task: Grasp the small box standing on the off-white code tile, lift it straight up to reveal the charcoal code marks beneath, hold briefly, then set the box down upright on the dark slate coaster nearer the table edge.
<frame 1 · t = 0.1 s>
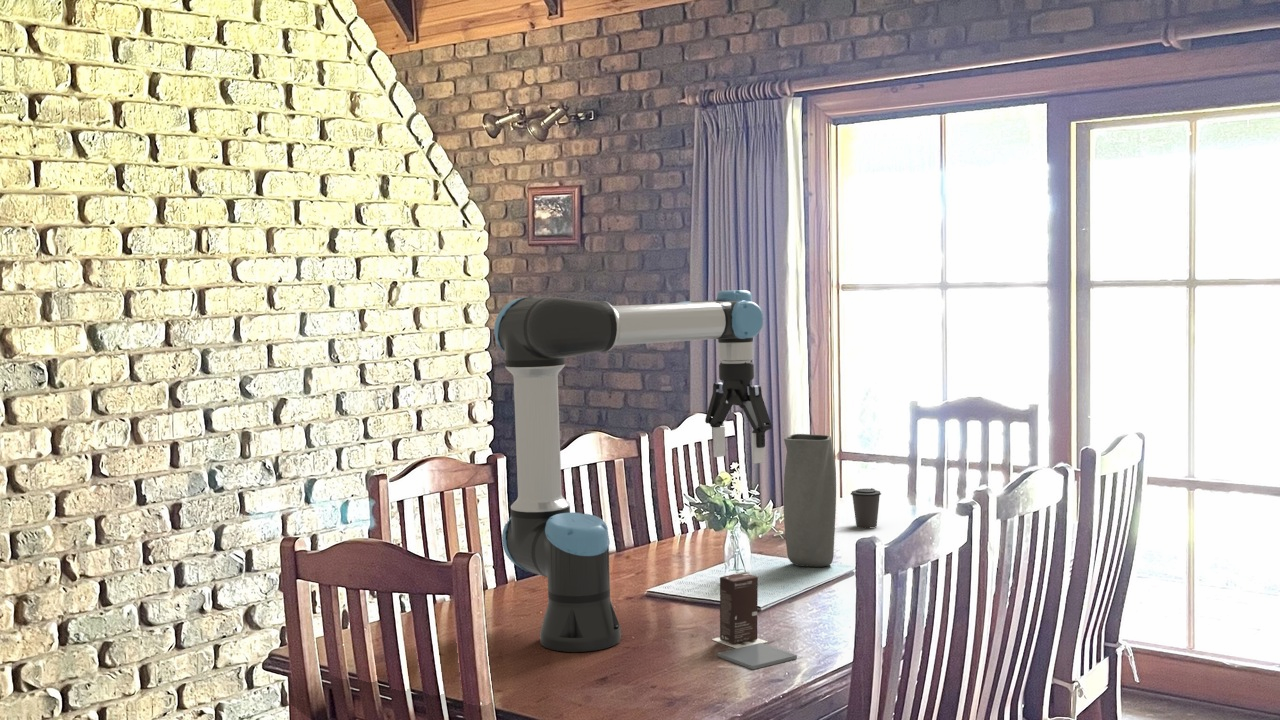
hand: (738, 459, 279), 28 cm above the table, fingers open, 13 cm apart
vase: (810, 565, 301), on the table
box: (739, 641, 239), resting on code tile
code tile: (739, 641, 239), on the table
coffee cup: (866, 527, 343), on the table
coaster: (756, 657, 229), on the table
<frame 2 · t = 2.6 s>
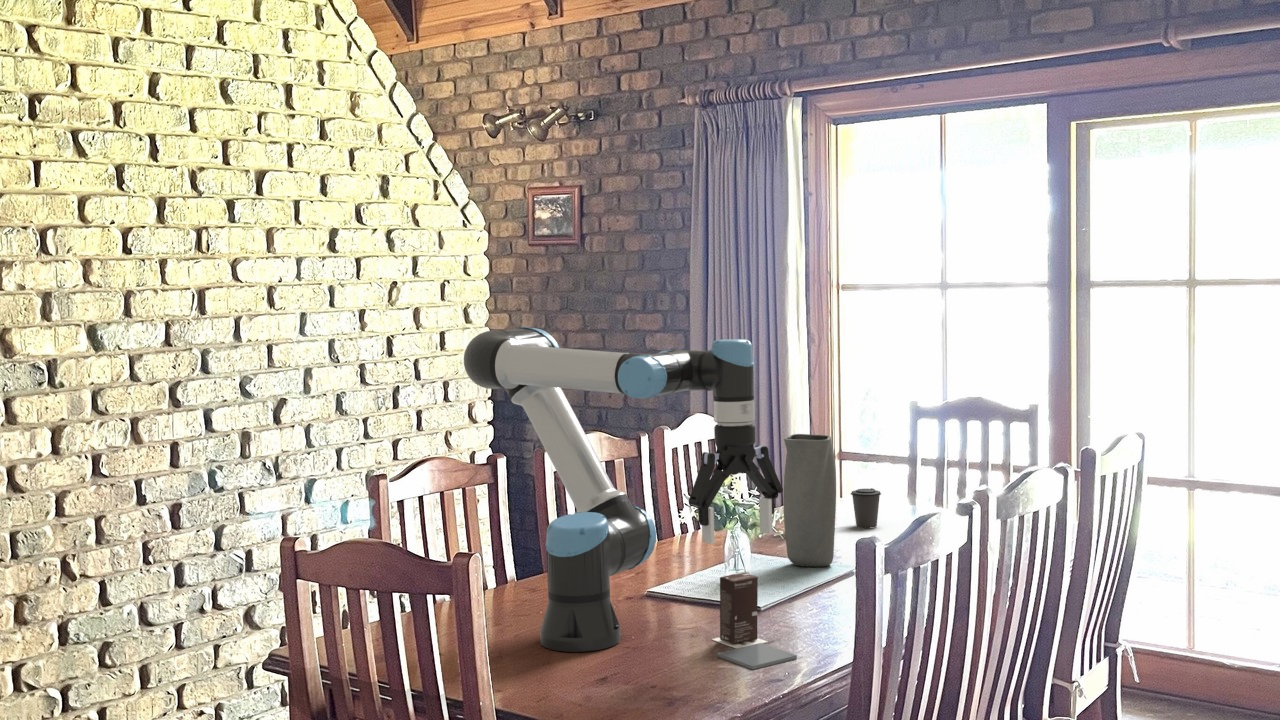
hand: (737, 537, 238), 19 cm above the table, fingers open, 13 cm apart
nothing on the table moved.
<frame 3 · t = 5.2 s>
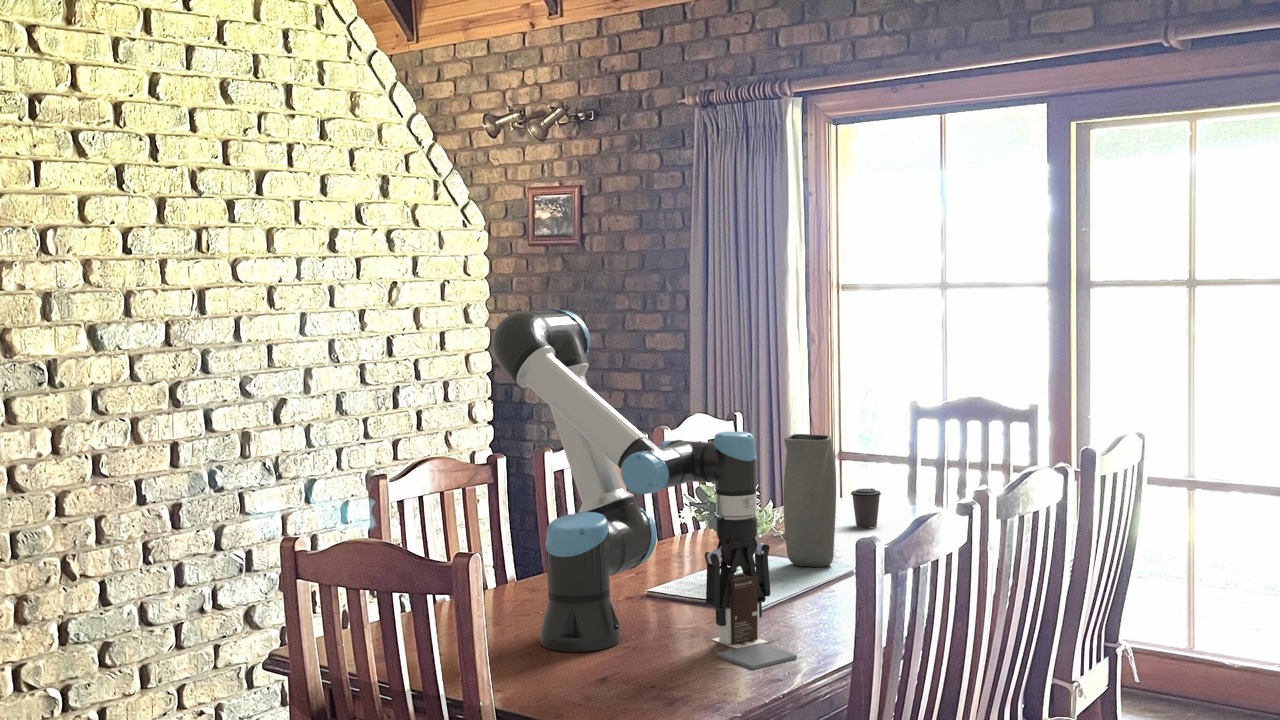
hand: (739, 638, 239), 0 cm above the table, fingers closed on code tile, 6 cm apart
box: (739, 641, 239), resting on code tile, touching gripper
everything else where it was.
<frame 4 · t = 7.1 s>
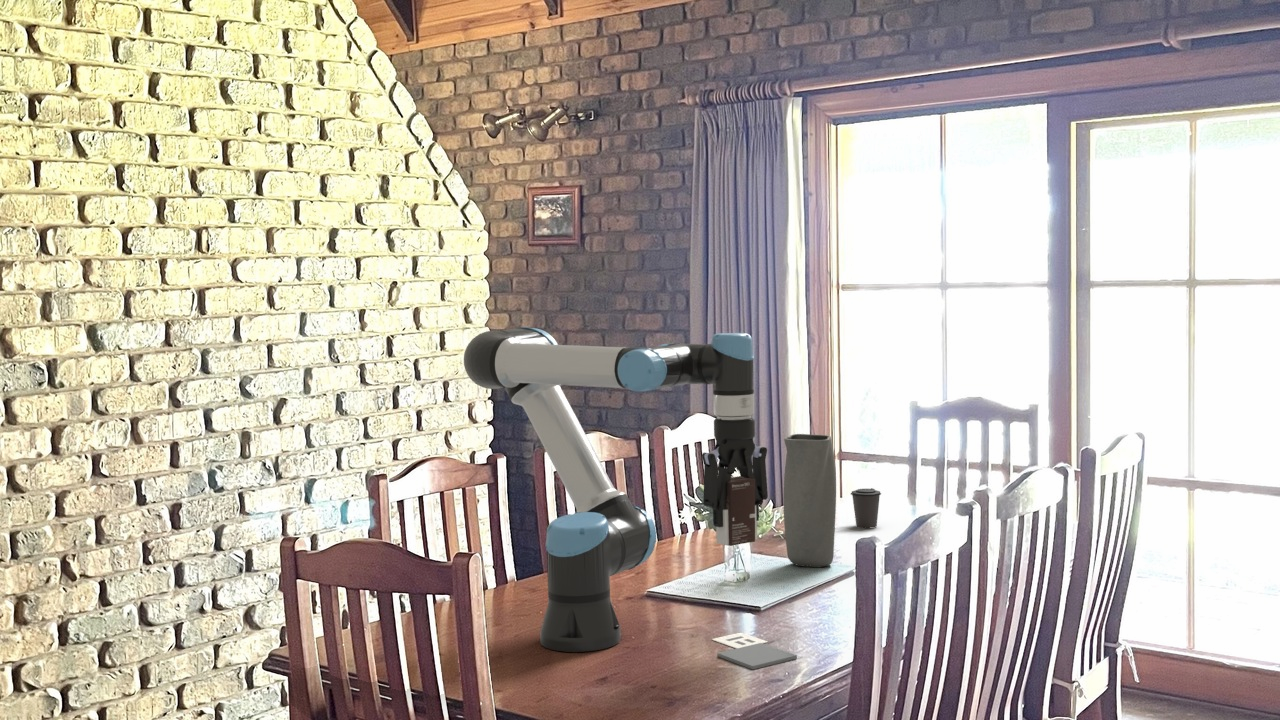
hand: (736, 541, 238), 19 cm above the table, fingers closed on box, 6 cm apart
box: (737, 543, 238), point 18 cm above the table, touching gripper
everything else where it was.
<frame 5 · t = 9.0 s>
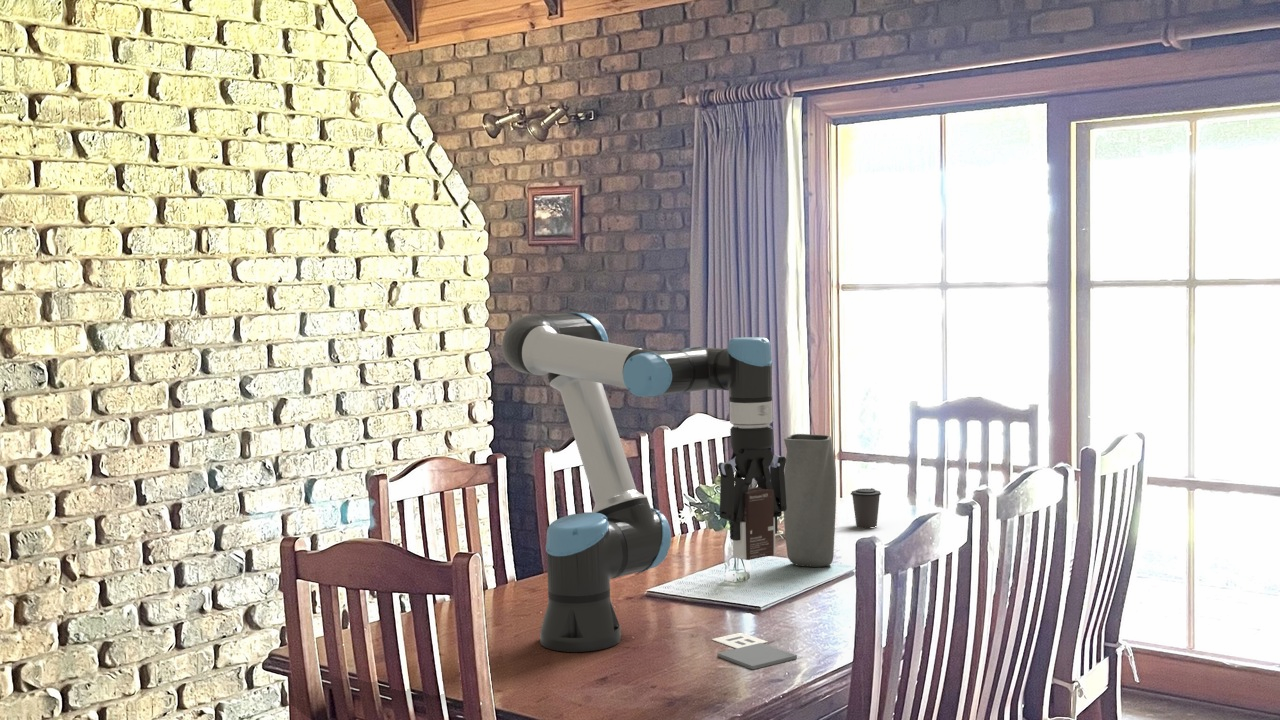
hand: (754, 555, 228), 18 cm above the table, fingers closed on box, 6 cm apart
box: (755, 557, 228), point 18 cm above the table, touching gripper
everything else where it was.
when the fingers open (2 cm above the table, at t = 12.5 s): box drops 2 cm, resting on coaster.
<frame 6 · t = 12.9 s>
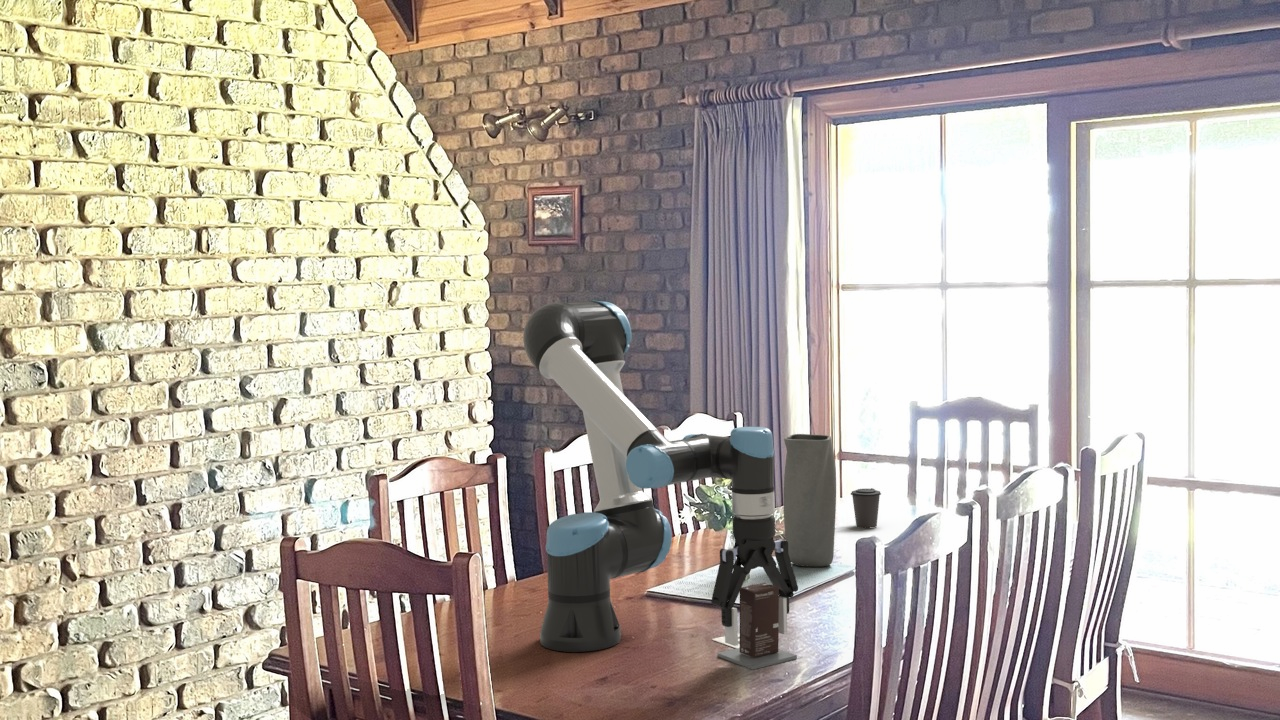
hand: (756, 638, 229), 3 cm above the table, fingers open, 10 cm apart
box: (759, 654, 229), resting on coaster
everything else where it was.
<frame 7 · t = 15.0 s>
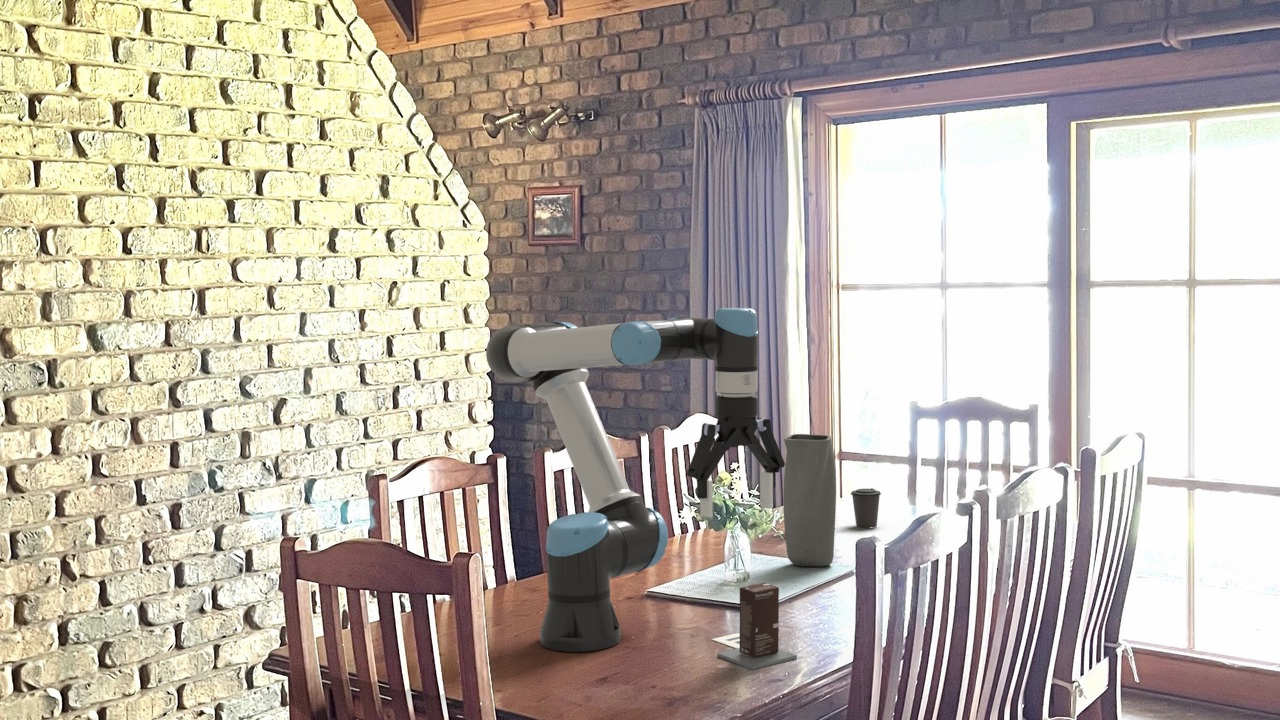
hand: (737, 511, 232), 25 cm above the table, fingers open, 13 cm apart
nothing on the table moved.
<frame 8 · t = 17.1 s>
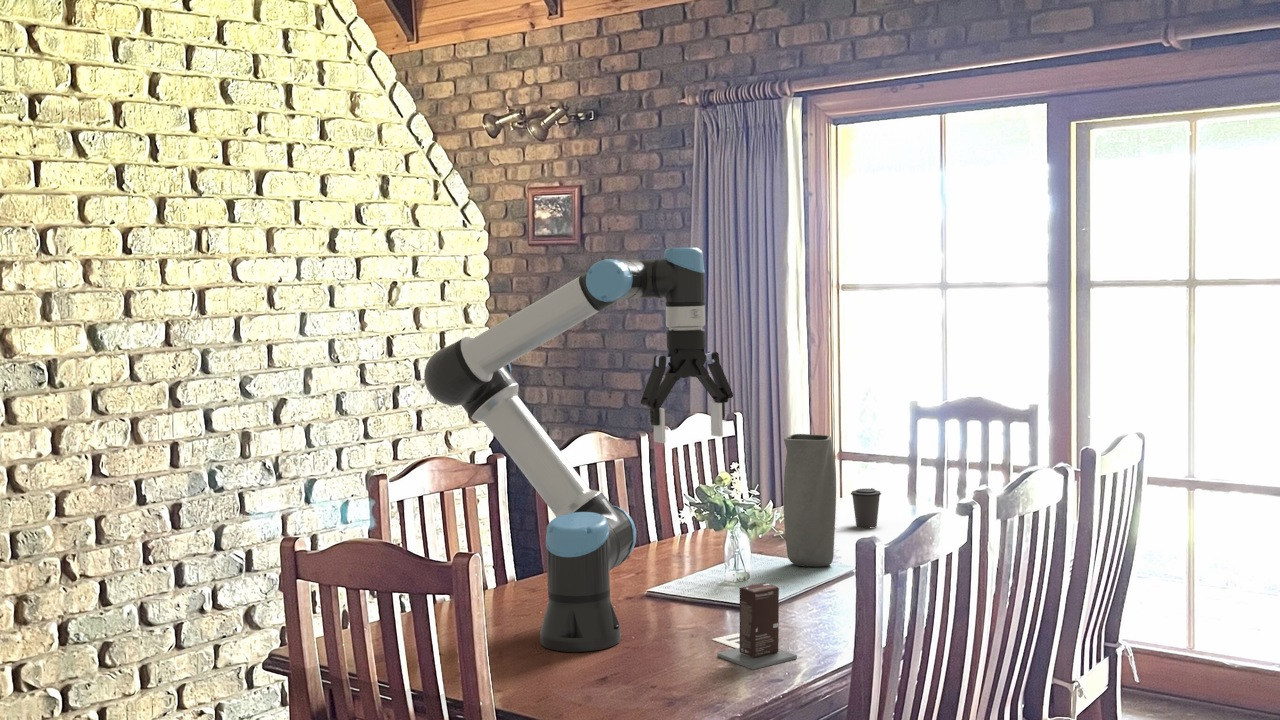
hand: (688, 439, 247), 37 cm above the table, fingers open, 13 cm apart
nothing on the table moved.
at the end: box inside the target area on the coaster (0.7 cm from its centre), point 0.4 cm above the coaster's base; box tilted 0°; the gripper is holding nothing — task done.
